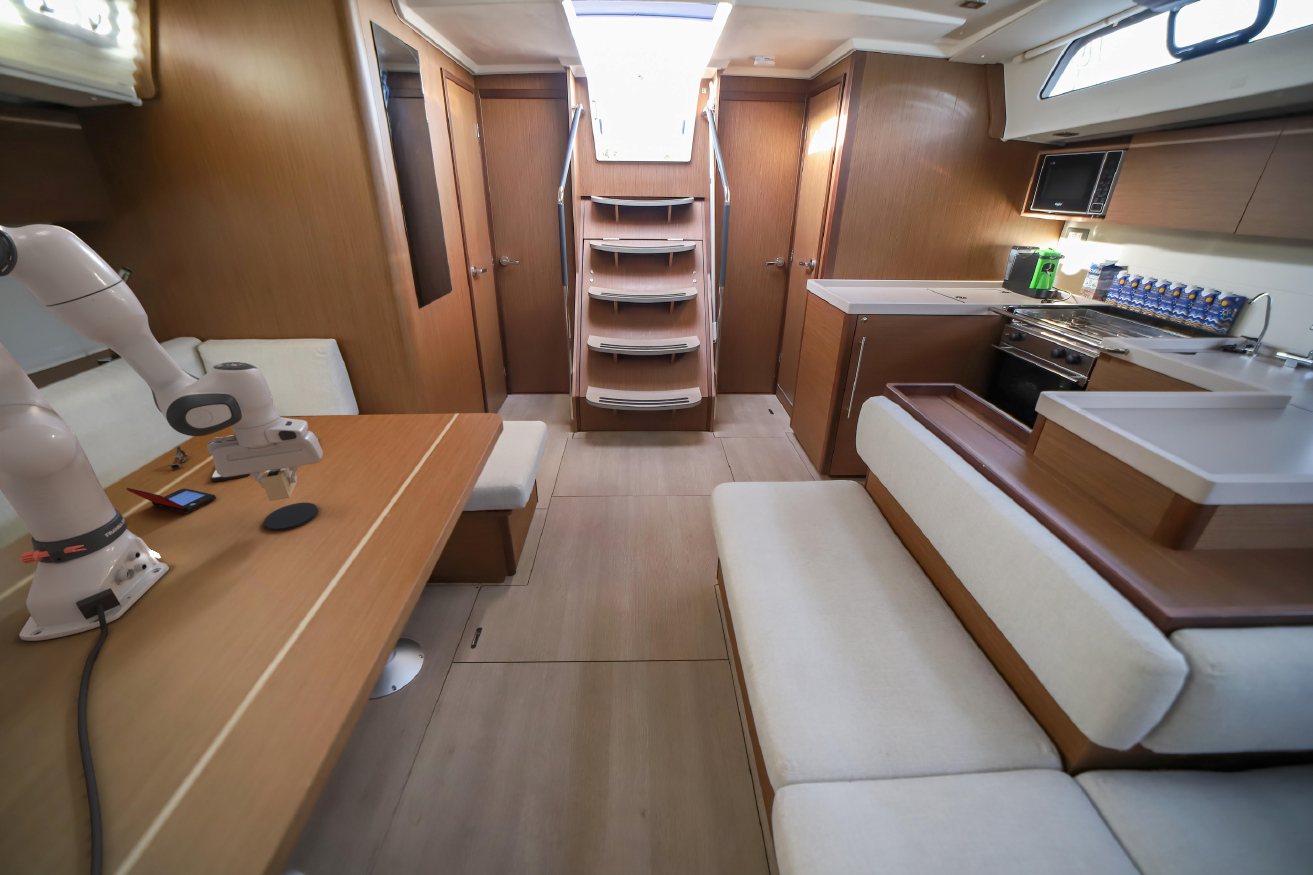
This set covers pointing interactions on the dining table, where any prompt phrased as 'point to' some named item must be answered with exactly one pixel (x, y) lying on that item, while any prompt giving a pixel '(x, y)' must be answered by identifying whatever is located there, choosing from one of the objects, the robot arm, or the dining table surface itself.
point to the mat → (291, 516)
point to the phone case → (217, 477)
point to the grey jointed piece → (178, 456)
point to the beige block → (277, 484)
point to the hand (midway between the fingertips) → (280, 484)
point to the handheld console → (178, 499)
